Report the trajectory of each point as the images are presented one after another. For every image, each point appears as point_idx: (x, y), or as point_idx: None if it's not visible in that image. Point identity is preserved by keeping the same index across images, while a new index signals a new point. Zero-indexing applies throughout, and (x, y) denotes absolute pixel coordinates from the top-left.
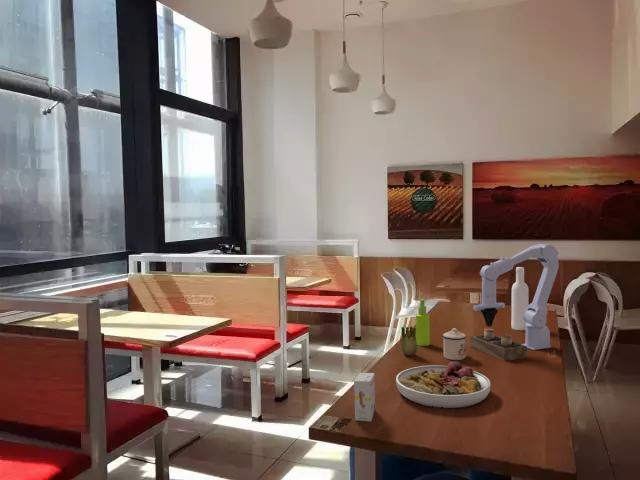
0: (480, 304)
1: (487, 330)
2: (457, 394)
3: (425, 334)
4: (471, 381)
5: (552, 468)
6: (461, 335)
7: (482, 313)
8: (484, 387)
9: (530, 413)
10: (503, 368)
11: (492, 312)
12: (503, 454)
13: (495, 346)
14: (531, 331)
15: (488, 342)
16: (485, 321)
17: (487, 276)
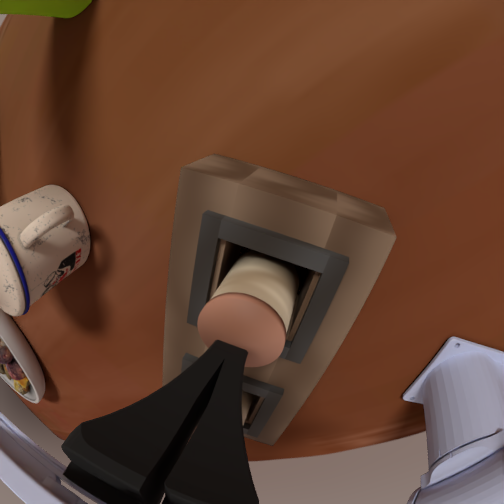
0: (20, 493)
1: (206, 337)
2: (3, 373)
3: (23, 14)
4: (14, 385)
5: (52, 431)
6: (4, 309)
7: (115, 415)
8: (31, 395)
9: (73, 426)
10: (132, 384)
11: (158, 501)
12: (31, 408)
13: (163, 372)
14: (429, 451)
15: (178, 331)
16: (192, 364)
17: None
